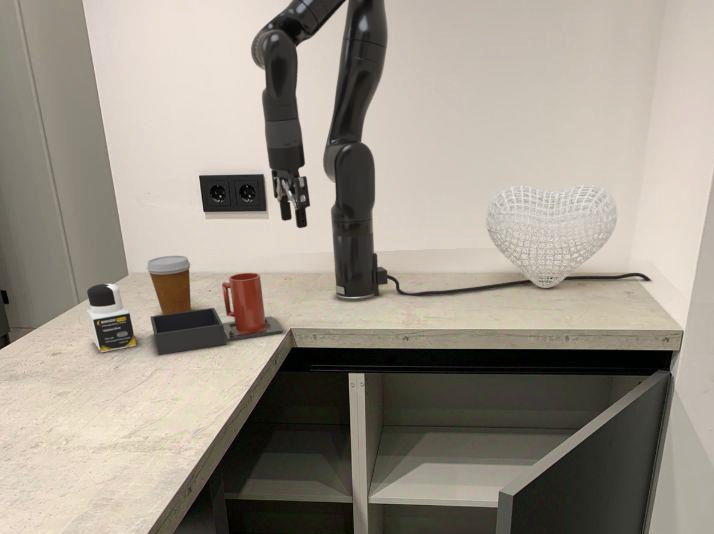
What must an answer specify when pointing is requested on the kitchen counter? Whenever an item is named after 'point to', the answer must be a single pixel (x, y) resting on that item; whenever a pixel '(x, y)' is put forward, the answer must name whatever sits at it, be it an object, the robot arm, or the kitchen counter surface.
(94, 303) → the medicine bottle
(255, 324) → the red mug
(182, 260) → the disposable coffee cup
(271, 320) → the hollow square frame
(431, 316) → the kitchen counter surface
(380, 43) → the robot arm
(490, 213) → the heart
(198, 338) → the grey square storage bin
